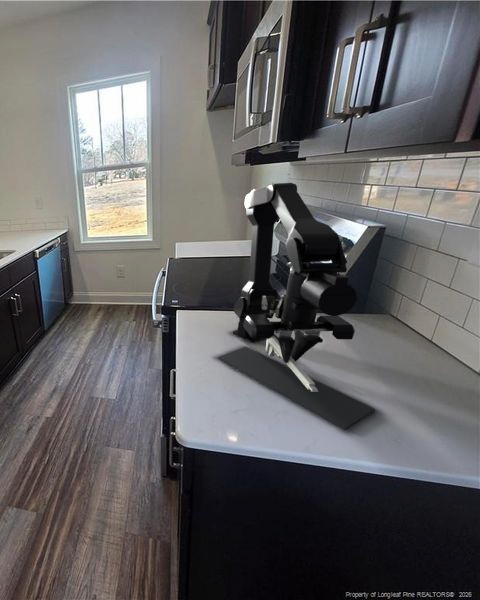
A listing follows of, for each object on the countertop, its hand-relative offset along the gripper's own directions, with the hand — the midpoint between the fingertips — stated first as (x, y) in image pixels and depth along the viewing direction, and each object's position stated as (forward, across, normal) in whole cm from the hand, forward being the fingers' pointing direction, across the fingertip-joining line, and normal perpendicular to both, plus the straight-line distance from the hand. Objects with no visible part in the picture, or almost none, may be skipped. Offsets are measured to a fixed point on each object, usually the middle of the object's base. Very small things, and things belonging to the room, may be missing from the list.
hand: (288, 362), depth 68 cm
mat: (+5, 0, 0) cm, 5 cm away
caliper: (+2, 0, 0) cm, 2 cm away
